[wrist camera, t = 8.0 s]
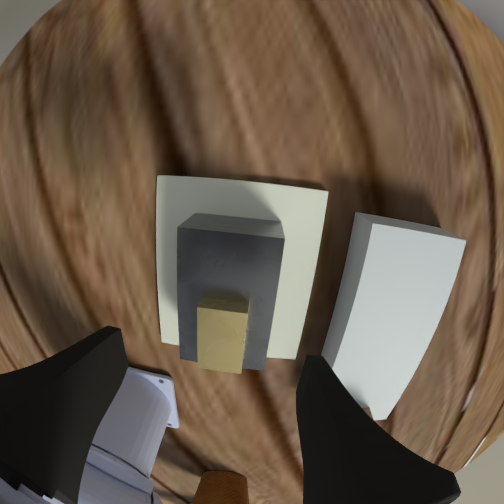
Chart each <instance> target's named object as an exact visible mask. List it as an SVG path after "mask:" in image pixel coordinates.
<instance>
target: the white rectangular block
mask: <svg viewBox="0 0 504 504" xmlns="http://www.w3.org/2000/svg"><path fill="white" fill-rule="evenodd" d="M465 243H466V240H464V239H462V238H460V237H458V236H456V235H454V234H453V233H451V232H449V231H447V230H445V229H443V228H439V227H434V226H429V225H425V224H420V223H415V222H409V221H404V220H399V219H394V218H388V217H382V216H377V215H371V214H365V213H359V212H355V216H354V222H353V228H352V233H351V238H350V243H349V248H348V253H347V257H346V262H345V267H344V271H343V275H342V280H341V284H340V288H339V292H338V296H337V300H336V304H335V308H334V311H333V315H332V319H331V322H330V326H329V329H328V333H327V336H326V340H325V343H324V346H323V350H322V353H321V356H323V357H324V358H325V360H326V361H327V362H328V364H329V365H330V367H331V368H332V370H333V371H334V373H335V374H336V375H337V377H338V378H339V380H340V381H341V382H342V384H343V385H344V387H345V388H346V389H347V390H348V392H349V393H350V394H351V396H352V397H353V398H354V399H355V401H356V402H357V403H358V404H359V405H360V406H361V408H362V409H363V410H364V411H365V412H366V413H367V414H368V415H369V416H370V417H371V419H372V420H373V421H374V420H381V419H386V418H387V417H388V415H389V414H390V412H391V411H392V409H393V408H394V406H395V404H396V403H397V401H398V400H399V398H400V397H401V395H402V393H403V392H404V390H405V388H406V387H407V385H408V383H409V381H410V380H411V378H412V376H413V374H414V372H415V371H416V369H417V367H418V365H419V363H420V361H421V359H422V357H423V355H424V353H425V351H426V349H427V347H428V345H429V343H430V341H431V339H432V337H433V334H434V332H435V330H436V328H437V325H438V323H439V321H440V318H441V316H442V313H443V311H444V308H445V306H446V303H447V301H448V298H449V295H450V292H451V290H452V287H453V284H454V281H455V278H456V275H457V272H458V268H459V265H460V262H461V258H462V255H463V251H464V247H465Z"/></svg>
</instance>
